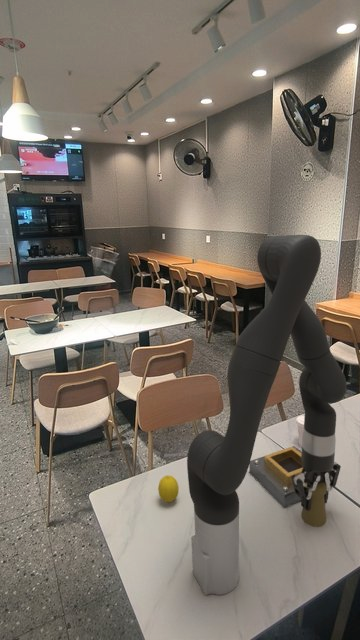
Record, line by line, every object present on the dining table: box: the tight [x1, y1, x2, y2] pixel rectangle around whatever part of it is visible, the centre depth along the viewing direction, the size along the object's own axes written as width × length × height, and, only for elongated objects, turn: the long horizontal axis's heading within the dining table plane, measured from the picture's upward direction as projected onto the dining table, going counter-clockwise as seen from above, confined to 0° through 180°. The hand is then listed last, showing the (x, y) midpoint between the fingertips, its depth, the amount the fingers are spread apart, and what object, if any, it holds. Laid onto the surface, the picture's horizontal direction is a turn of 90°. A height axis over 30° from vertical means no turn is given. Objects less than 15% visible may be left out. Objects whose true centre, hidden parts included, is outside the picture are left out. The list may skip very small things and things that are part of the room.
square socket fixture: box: [248, 445, 333, 509], centre depth 107 cm, size 19×16×6 cm
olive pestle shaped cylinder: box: [301, 482, 327, 528], centre depth 93 cm, size 6×6×11 cm
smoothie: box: [295, 415, 305, 449], centre depth 122 cm, size 6×6×14 cm
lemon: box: [157, 474, 179, 503], centre depth 100 cm, size 6×6×8 cm
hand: (314, 504), depth 93 cm, fingers open, 5 cm apart
